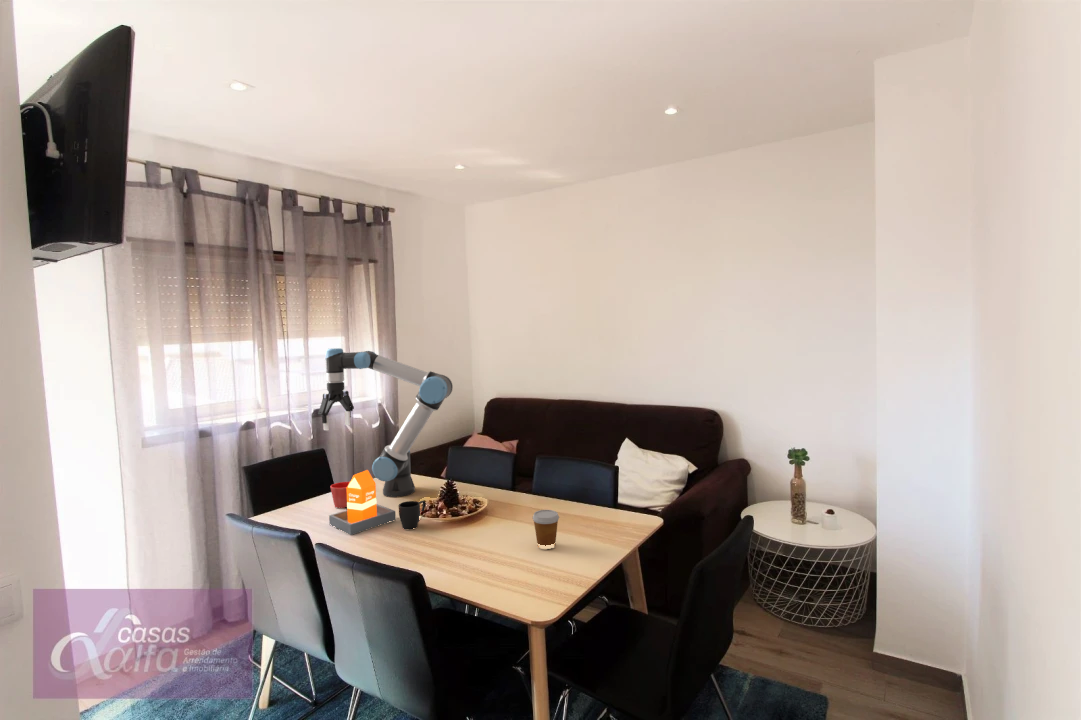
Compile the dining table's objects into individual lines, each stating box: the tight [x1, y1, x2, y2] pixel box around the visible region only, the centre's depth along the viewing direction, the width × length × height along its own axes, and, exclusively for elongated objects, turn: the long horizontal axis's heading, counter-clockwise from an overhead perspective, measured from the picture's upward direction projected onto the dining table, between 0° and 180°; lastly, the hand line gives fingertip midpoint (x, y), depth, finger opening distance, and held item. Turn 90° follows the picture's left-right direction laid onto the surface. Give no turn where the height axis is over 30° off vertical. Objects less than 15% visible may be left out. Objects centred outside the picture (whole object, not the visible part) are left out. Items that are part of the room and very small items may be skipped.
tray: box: [328, 503, 397, 536], centre depth 216 cm, size 20×17×4 cm
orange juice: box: [346, 469, 377, 523], centre depth 215 cm, size 8×9×20 cm
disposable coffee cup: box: [532, 509, 560, 546], centre depth 187 cm, size 10×10×12 cm
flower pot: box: [329, 481, 350, 509], centre depth 238 cm, size 11×11×10 cm
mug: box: [398, 500, 427, 530], centre depth 210 cm, size 8×12×10 cm
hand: (337, 427), depth 242 cm, fingers open, 13 cm apart
